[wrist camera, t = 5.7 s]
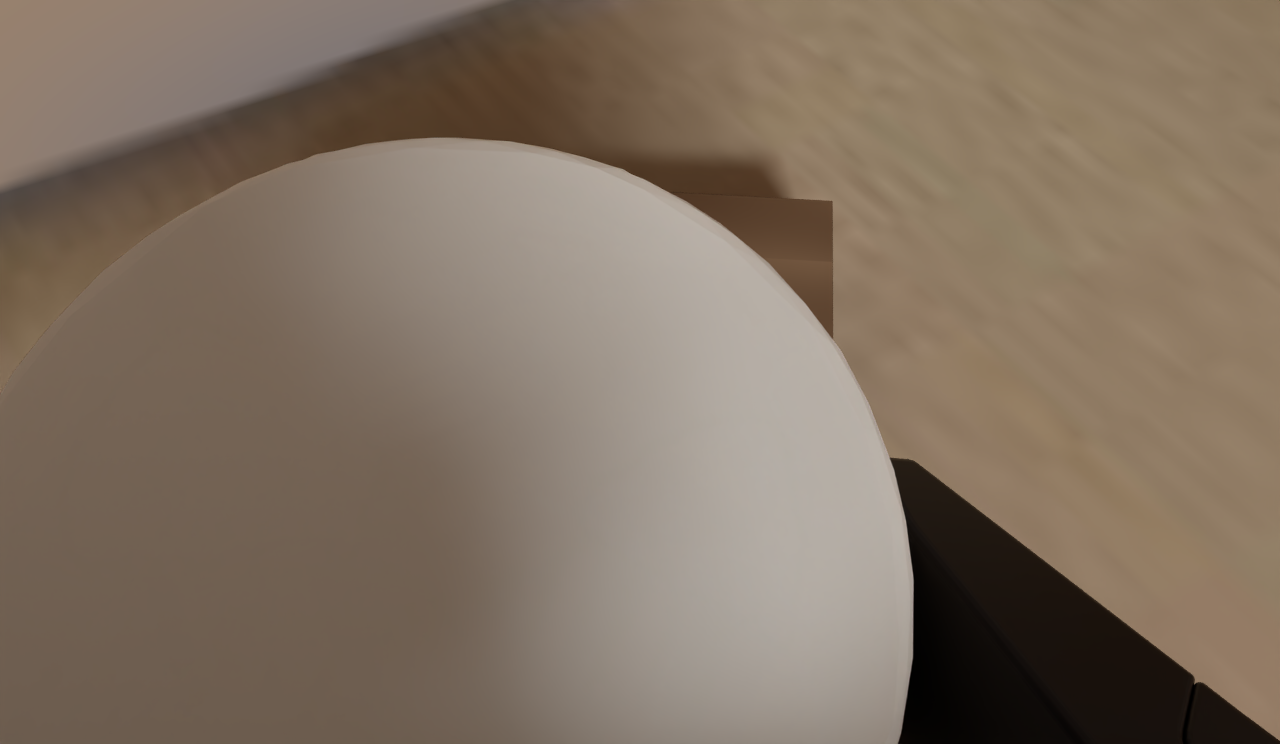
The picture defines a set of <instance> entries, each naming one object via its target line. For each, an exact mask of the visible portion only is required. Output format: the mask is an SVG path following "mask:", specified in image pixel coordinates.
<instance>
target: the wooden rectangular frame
mask: <svg viewBox="0 0 1280 744" xmlns="http://www.w3.org/2000/svg"><path fill="white" fill-rule="evenodd" d="M669 193H671V194H673V195H675V196H677V197H679V198H681V199H683V200H685V201H686V202H688V203H690V204H691V205H693V206H694V207H696V208H697V209H699V210H700V211H702V212H704V213H705V214H707V215H708V216H710V217H711V218H713V219H714V220H716V221H717V222H719V223H721V224H722V225H723V226H724V227H726V228H727V229H728V230H729V231H730V232H732V233H733V234H734V235H735V236H736V237H738V238H739V239H740V240H741V241H742V242H744V243H745V244H746V245H747V246H749V247H750V248H751V249H752V250H753V251H755V252H756V253H757V254H758V255H759V256H761V257H762V258H763V259H764V260H766V261H767V262H768V263H769V264H770V265H771V266H772V267H773V268H774V269H775V271H776V272H777V273H778V274H779V275H780V276H781V277H782V278H783V279H784V281H785V282H786V283H787V284H788V285H789V286H790V287H791V288H792V289H793V291H794V292H795V293H796V294H797V295H798V296H799V297H800V298H801V299H802V301H803V302H804V303H805V304H806V305H807V306H808V308H809V309H810V310H811V312H812V313H813V314H814V316H815V317H816V318H817V320H818V321H819V322H820V323H821V325H822V326H823V327H824V329H825V330H826V331H827V333H828V334H829V335H830V337H831V338H832V339H833V206H832V201H823V200H804V199H786V198H768V197H750V196H732V195H714V194H696V193H678V192H669Z"/></svg>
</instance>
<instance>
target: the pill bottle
mask: <svg viewBox="0 0 1280 744" xmlns="http://www.w3.org/2000/svg"><path fill="white" fill-rule="evenodd" d="M912 660H913V571H912V564H911V556H910V548H909V541H908V533H907V525H906V519H905V515H904V510H903V506H902V502H901V498H900V493H899V489H898V485H897V481H896V476H895V472H894V469H893V466H892V463H891V461H890V458H889V455H888V453H887V450H886V447H885V445H884V442H883V439H882V437H881V434H880V432H879V429H878V426H877V424H876V421H875V418H874V416H873V413H872V410H871V408H870V405H869V403H868V401H867V399H866V397H865V395H864V393H863V391H862V390H861V388H860V386H859V384H858V382H857V380H856V378H855V376H854V374H853V373H852V371H851V369H850V367H849V365H848V363H847V361H846V359H845V357H844V355H843V354H842V352H841V350H840V348H839V347H838V346H837V345H836V343H835V342H834V341H833V339H832V338H831V337H830V335H829V334H828V333H827V331H826V330H825V329H824V327H823V326H822V325H821V323H820V322H819V321H818V320H817V318H816V317H815V316H814V314H813V313H812V312H811V310H810V309H809V308H808V306H807V305H806V304H805V303H804V302H803V301H802V299H801V298H800V297H799V296H798V295H797V294H796V293H795V292H794V291H793V289H792V288H791V287H790V286H789V285H788V284H787V283H786V282H785V281H784V279H783V278H782V277H781V276H780V275H779V274H778V273H777V272H776V271H775V269H774V268H773V267H772V266H771V265H770V264H769V263H768V262H767V261H766V260H764V259H763V258H762V257H761V256H759V255H758V254H757V253H756V252H755V251H753V250H752V249H751V248H750V247H749V246H747V245H746V244H745V243H744V242H742V241H741V240H740V239H739V238H738V237H736V236H735V235H734V234H733V233H732V232H730V231H729V230H728V229H727V228H726V227H724V226H723V225H722V224H721V223H719V222H717V221H716V220H714V219H713V218H711V217H710V216H708V215H707V214H705V213H704V212H702V211H700V210H699V209H697V208H696V207H694V206H693V205H691V204H690V203H688V202H686V201H685V200H683V199H681V198H679V197H677V196H675V195H673V194H671V193H669V192H667V191H665V190H664V189H662V188H660V187H658V186H656V185H654V184H652V183H650V182H648V181H646V180H644V179H642V178H639V177H637V176H635V175H632V174H630V173H629V172H627V171H625V170H624V169H621V168H617V167H614V166H610V165H607V164H604V163H601V162H598V161H594V160H591V159H588V158H585V157H581V156H578V155H574V154H570V153H566V152H563V151H559V150H555V149H551V148H546V147H540V146H534V145H528V144H523V143H517V142H511V141H498V140H484V139H470V138H419V139H404V140H395V141H386V142H378V143H369V144H363V145H359V146H355V147H350V148H346V149H342V150H337V151H332V152H326V153H321V154H315V155H313V156H311V157H309V158H307V159H304V160H301V161H297V162H292V163H288V164H285V165H283V166H281V167H278V168H276V169H273V170H270V171H268V172H265V173H263V174H260V175H257V176H255V177H252V178H249V179H247V180H244V181H242V182H240V183H238V184H236V185H234V186H232V187H230V188H228V189H227V190H225V191H223V192H221V193H219V194H217V195H215V196H213V197H212V198H210V199H208V200H206V201H204V202H202V203H201V204H199V205H197V206H195V207H194V208H192V209H190V210H188V211H186V212H185V213H183V214H181V215H179V216H178V217H176V218H175V219H173V220H171V221H170V222H168V223H167V224H165V225H164V226H162V227H160V228H159V229H157V230H156V231H154V232H153V233H151V234H150V235H148V236H147V237H145V238H144V239H143V240H142V241H140V242H139V243H138V244H136V245H135V246H134V247H133V248H131V249H130V250H129V251H127V252H126V253H125V254H124V255H122V256H121V257H120V258H119V259H117V260H116V261H115V262H113V263H112V264H111V265H110V266H108V267H107V268H106V269H105V270H103V271H102V272H101V273H100V274H99V275H98V276H97V277H96V278H95V279H94V280H93V281H92V283H91V284H90V285H89V286H88V287H87V288H86V289H85V290H84V291H83V292H82V293H81V294H80V295H79V296H78V297H77V298H76V299H75V300H74V301H73V302H72V303H71V304H70V305H69V306H68V307H67V308H66V309H65V310H64V312H63V313H62V314H61V315H60V316H59V317H58V318H57V319H56V320H55V321H54V322H53V323H52V324H51V326H50V327H49V328H48V329H47V330H46V331H45V333H44V334H43V335H42V336H41V338H40V339H39V340H38V341H37V343H36V344H35V345H34V346H33V348H32V349H31V350H30V351H29V353H28V354H27V355H26V356H25V358H24V359H23V360H22V361H21V363H20V364H19V365H18V366H17V368H16V369H15V370H14V372H13V373H12V375H11V377H10V378H9V380H8V382H7V384H6V385H5V387H4V389H3V390H2V392H1V394H0V744H898V742H899V738H900V735H901V731H902V724H903V718H904V711H905V705H906V698H907V692H908V686H909V679H910V673H911V666H912Z"/></svg>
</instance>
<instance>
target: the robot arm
mask: <svg viewBox="0 0 1280 744" xmlns="http://www.w3.org/2000/svg"><path fill="white" fill-rule="evenodd" d="M890 461H891V463H892V466H893V469H894V472H895V476H896V481H897V485H898V489H899V493H900V498H901V502H902V506H903V510H904V515H905V519H906V525H907V533H908V541H909V548H910V556H911V564H912V571H913V660H912V666H911V673H910V679H909V686H908V692H907V698H906V705H905V711H904V718H903V724H902V731H901V735H900V738H899V742H898V744H1280V741H1279V740H1278V739H1276V738H1275V737H1274V736H1272V735H1271V734H1270V733H1268V732H1267V731H1266V730H1264V729H1263V728H1262V727H1260V726H1259V725H1258V724H1256V723H1255V722H1254V721H1252V720H1251V719H1250V718H1248V717H1247V716H1245V715H1244V714H1243V713H1242V712H1240V711H1239V710H1238V709H1236V708H1235V707H1234V706H1232V705H1231V704H1230V703H1229V702H1227V701H1226V700H1225V699H1223V698H1222V697H1221V696H1220V695H1218V694H1217V693H1216V692H1214V691H1213V690H1212V689H1211V688H1209V687H1208V686H1207V685H1205V684H1204V683H1201V682H1198V683H1195V685H1194V682H1195V679H1194V676H1193V675H1192V674H1191V673H1189V672H1188V671H1187V670H1185V669H1184V668H1183V667H1182V666H1180V665H1179V664H1178V663H1176V662H1175V661H1174V660H1172V659H1171V658H1170V657H1169V656H1167V655H1166V654H1165V653H1163V652H1162V651H1161V650H1159V649H1158V648H1157V647H1156V646H1154V645H1153V644H1152V643H1150V642H1149V641H1148V640H1146V639H1145V638H1144V637H1143V636H1141V635H1140V634H1139V633H1137V632H1136V631H1135V630H1133V629H1132V628H1131V627H1130V626H1128V625H1127V624H1126V623H1124V622H1123V621H1122V620H1120V619H1119V618H1118V617H1117V616H1115V615H1114V614H1113V613H1111V612H1110V611H1109V610H1107V609H1106V608H1105V607H1104V606H1102V605H1101V604H1100V603H1098V602H1097V601H1096V600H1094V599H1093V598H1092V597H1091V596H1089V595H1088V594H1087V593H1085V592H1084V591H1083V590H1082V589H1080V588H1079V587H1078V586H1076V585H1075V584H1074V583H1072V582H1071V581H1070V580H1069V579H1067V578H1066V577H1065V576H1063V575H1062V574H1061V573H1059V572H1058V571H1057V570H1056V569H1054V568H1053V567H1052V566H1050V565H1049V564H1048V563H1046V562H1045V561H1044V560H1043V559H1041V558H1040V557H1039V556H1037V555H1036V554H1035V553H1033V552H1032V551H1031V550H1030V549H1028V548H1027V547H1026V546H1024V545H1023V544H1022V543H1020V542H1019V541H1018V540H1017V539H1015V538H1014V537H1013V536H1011V535H1010V534H1009V533H1007V532H1006V531H1005V530H1004V529H1002V528H1001V527H1000V526H998V525H997V524H996V523H994V522H993V521H992V520H991V519H989V518H988V517H987V516H985V515H984V514H983V513H981V512H980V511H979V510H978V509H976V508H975V507H974V506H972V505H971V504H970V503H968V502H967V501H966V500H965V499H963V498H962V497H961V496H959V495H958V494H957V493H955V492H954V491H953V490H952V489H950V488H949V487H948V486H946V485H945V484H944V483H942V482H941V481H940V480H939V479H937V478H936V477H935V476H933V475H932V474H931V473H929V472H928V471H927V470H926V469H924V468H923V467H922V466H920V465H919V464H918V463H916V462H915V461H913V460H909V459H899V458H890Z"/></svg>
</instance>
